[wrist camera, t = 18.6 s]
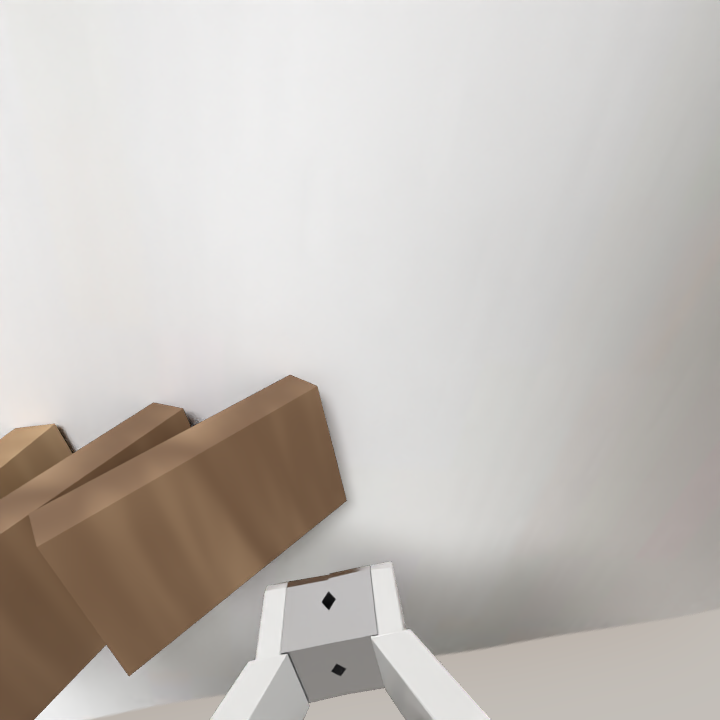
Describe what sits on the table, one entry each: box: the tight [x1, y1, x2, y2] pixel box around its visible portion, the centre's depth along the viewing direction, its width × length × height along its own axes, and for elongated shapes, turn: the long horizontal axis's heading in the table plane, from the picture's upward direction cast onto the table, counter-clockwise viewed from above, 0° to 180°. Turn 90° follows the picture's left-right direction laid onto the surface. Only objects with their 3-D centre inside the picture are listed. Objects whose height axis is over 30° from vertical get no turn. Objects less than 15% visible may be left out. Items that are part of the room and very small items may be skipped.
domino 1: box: [0, 403, 191, 720], centre depth 13 cm, size 2×5×8 cm
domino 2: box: [29, 375, 347, 676], centre depth 13 cm, size 2×5×8 cm
